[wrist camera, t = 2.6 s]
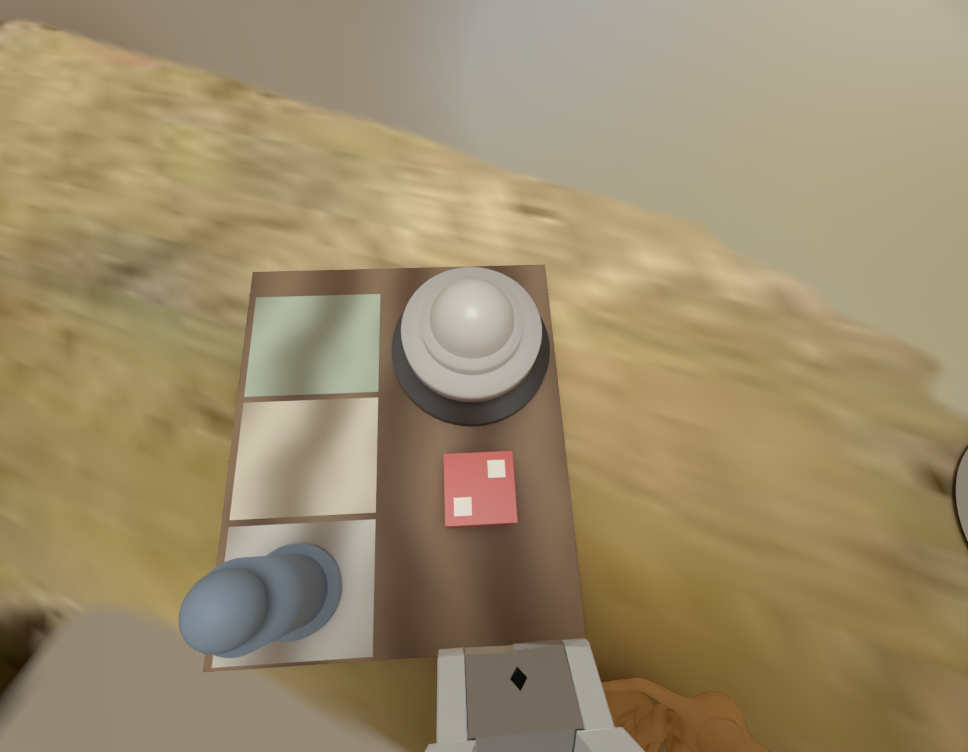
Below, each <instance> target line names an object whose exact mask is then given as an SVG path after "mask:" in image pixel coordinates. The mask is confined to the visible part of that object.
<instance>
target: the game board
mask: <svg viewBox="0 0 968 752" xmlns="http://www.w3.org/2000/svg"><path fill="white" fill-rule="evenodd" d="M477 267H479V268H486V269H490V270H494V271H497V272H499V273H502V274H504V275H506V276H508V277H510V278H511V279H513V280H514V281H516V282H517V283H518V284H519V285H520V286H522V287H523V288H524V289H525V290H526V292H527V293H528V294H529V295H530V297H531V298H532V300H533V301H534V303H535V305H536V307H537V309H538V312H539V315H540V319H541V324H542V339H541V345H540V348H539V352H538V354H537V357H536V360H535V362H534V364H533V367H532V368H531V370H530V372H529V373H528V375H527V376H526V377H525V379H524V380H523V381H522V382H521V383H520V384H519V385H518V386H517V387H515V388H514V389H513V390H511V391H510V392H508V393H506V394H504V395H502V396H500V397H498V398H495V399H492V400H488V401H482V402H461V401H455V400H452V399H448V398H446V397H443V396H441V395H439V394H437V393H435V392H434V391H432V390H431V389H429V388H428V387H427V386H425V385H424V384H423V383H422V382H421V381H420V380H419V379H418V377H417V376H416V375H415V373H414V372H413V370H412V369H411V367H410V365H409V363H408V360H407V357H406V354H405V351H404V348H403V344H402V339H401V322H402V318H403V313H404V311H405V308H406V306H407V304H408V302H409V300H410V298H411V297H412V296H413V294H414V293H415V292H416V291H417V290H418V289H419V287H420V286H421V285H423V284H424V283H425V282H426V281H428V280H429V279H431V278H432V277H434V276H436V275H438V274H440V273H442V272H445V271H448V270H451V269H456V268H463V267H438V268H398V269H359V270H319V271H279V272H253V275H252V283H251V291H250V299H249V307H248V315H247V323H246V331H245V339H244V347H243V355H242V363H241V371H240V379H239V387H238V395H237V403H236V411H235V419H234V428H233V436H232V444H231V452H230V460H229V468H228V476H227V484H226V492H225V500H224V508H223V516H222V524H221V532H220V540H219V548H218V556H217V564H216V567H217V566H219V565H220V564H222V563H224V562H226V561H229V560H231V559H235V558H242V557H257V556H267V555H268V554H269V553H271V552H272V551H274V550H276V549H277V548H280V547H282V546H285V545H289V544H296V543H302V544H313V545H316V546H319V547H321V548H323V549H324V550H326V551H327V552H328V553H329V554H330V555H331V556H332V557H333V558H334V559H335V561H336V563H337V564H338V567H339V569H340V572H341V577H342V593H341V598H340V601H339V604H338V607H337V609H336V611H335V612H334V614H333V616H332V617H331V618H330V620H329V621H328V622H327V623H326V624H325V625H324V626H323V627H322V628H320V629H319V630H318V631H316V632H314V633H313V634H311V635H309V636H308V637H305V638H303V639H301V640H297V641H292V642H279V641H273V642H271V643H269V644H267V645H265V646H263V647H261V648H259V649H258V650H256V651H254V652H252V653H249V654H247V655H245V656H241V657H237V658H221V657H217V656H214V655H212V654H205V661H204V669H203V672H213V671H228V670H242V669H257V668H271V667H286V666H300V665H315V664H329V663H344V662H358V661H373V660H387V659H402V658H416V657H431V656H438V652H439V649H449V648H461V647H464V648H466V647H482V646H497V645H512V644H516V643H526V642H537V641H547V640H558V639H560V640H567V639H577V638H586V632H585V623H584V614H583V605H582V596H581V587H580V578H579V569H578V560H577V551H576V542H575V533H574V524H573V515H572V506H571V496H570V487H569V478H568V469H567V460H566V451H565V442H564V433H563V424H562V415H561V406H560V397H559V388H558V379H557V370H556V361H555V352H554V343H553V334H552V325H551V316H550V307H549V298H548V289H547V280H546V271H545V265H517V266H477ZM498 451H512V453H513V467H514V480H515V494H516V507H517V521H518V523H515V524H513V525H506V526H488V527H470V528H451V529H448V528H447V527H445V492H444V454H455V453H477V452H498ZM464 654H465V649H464Z"/></svg>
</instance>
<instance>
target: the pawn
mask: <svg viewBox="0 0 968 752" xmlns="http://www.w3.org/2000/svg"><path fill="white" fill-rule="evenodd" d="M341 593H342V577H341V572H340V569H339V567H338V564H337V563H336V561H335V559H334V558H333V557H332V556H331V555H330V554H329V553H328V552H327V551H326V550H324V549H323V548H321V547H319V546H316V545H313V544H302V543H296V544H289V545H285V546H282V547H280V548H277V549H276V550H274V551H272V552H271V553H269V554H268V555H267V556H257V557H242V558H235V559H231V560H229V561H226V562H224V563H222V564H220V565H219V566H217V567H216V568H214V569H213V570H212V571H211V572H210V573H209V574H208V575H207V576H205V577H203V578H202V579H200V580H199V581H198V582H197V583H196V584H195V585H194V586H193V587H192V588H191V589H190V591H189V592H188V593H187V595H186V597H185V598H184V600H183V603H182V605H181V608H180V612H179V629H180V632H181V635H182V637H183V639H184V640H185V642H186V643H187V644H188V645H189V646H190V647H191V648H193V649H194V650H197V651H198V652H201V653H204V654H212V655H214V656H217V657H221V658H237V657H241V656H245V655H247V654H249V653H252V652H254V651H256V650H258V649H259V648H261V647H263V646H265V645H267V644H269V643H271V642H273V641H279V642H292V641H297V640H301V639H303V638H305V637H308V636H309V635H311V634H313V633H314V632H316V631H318V630H319V629H320V628H322V627H323V626H324V625H325V624H326V623H327V622H328V621H329V620H330V618H331V617H332V616H333V614H334V612H335V611H336V609H337V607H338V604H339V601H340V598H341Z"/></svg>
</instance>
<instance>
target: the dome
mask: <svg viewBox="0 0 968 752" xmlns="http://www.w3.org/2000/svg"><path fill="white" fill-rule="evenodd" d="M401 339H402V344H403V348H404V351H405V354H406V357H407V360H408V363H409V365H410V367H411V369H412V370H413V372H414V373H415V375H416V376H417V377H418V379H419V380H420V381H421V382H422V383H423V384H424V385H425V386H427V387H428V388H429V389H431V390H432V391H434V392H435V393H437V394H439V395H441V396H443V397H446V398H448V399H452V400H455V401H461V402H482V401H488V400H492V399H495V398H498V397H500V396H502V395H504V394H506V393H508V392H510V391H511V390H513V389H514V388H515V387H517V386H518V385H519V384H520V383H521V382H522V381H523V380H524V379H525V377H526V376H527V375H528V373H529V372H530V370H531V368H532V367H533V364H534V362H535V360H536V357H537V354H538V352H539V348H540V345H541V339H542V324H541V319H540V315H539V312H538V309H537V307H536V305H535V303H534V301H533V300H532V298H531V297H530V295H529V294H528V293H527V292H526V290H525V289H524V288H523V287H522V286H520V285H519V284H518V283H517V282H516V281H514V280H513V279H511V278H510V277H508V276H506V275H504V274H502V273H499V272H497V271H494V270H490V269H486V268H479V267H463V268H456V269H451V270H448V271H445V272H442V273H440V274H438V275H436V276H434V277H432V278H431V279H429V280H428V281H426V282H425V283H424V284H423V285H421V286H420V287H419V289H418V290H417V291H416V292H415V293H414V294H413V296H412V297H411V298H410V300H409V302H408V304H407V306H406V308H405V311H404V313H403V318H402V322H401Z"/></svg>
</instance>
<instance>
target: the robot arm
mask: <svg viewBox="0 0 968 752" xmlns="http://www.w3.org/2000/svg"><path fill="white" fill-rule="evenodd" d="M956 502H957V509H958V514H959V518H960V522H961V525H962V528H963V531H964V534H965V536H966V539H967V541H968V449H967V451H966V452H965V454H964V456H963V458H962V460H961V463H960V465H959V469H958V473H957V479H956ZM464 649H465V661H464ZM465 680H466V683H465ZM424 752H645V751H644V750H643V749H642V747H641V746H640V745H639V744H638V743H637V742H636V741H635V740H634V739H633V738H632V737H631V735H630V734H629V733H628V732H627V731H626V730H625V729H624V728H623V727H615V726H614V723H613V720H612V716H611V713H610V710H609V706H608V703H607V700H606V696H605V693H604V690H603V686H602V683H601V680H600V676H599V673H598V670H597V666H596V663H595V660H594V656H593V653H592V650H591V646H590V644H589V642H588V641H587V639H586V638H577V639H567V640H560V639H558V640H547V641H537V642H526V643H516V644H512V645H497V646H482V647H466V648H464V647H461V648H449V649H439V652H438V659H437V735H436V743H431V744H428V746H427V748H426V749H425V751H424Z"/></svg>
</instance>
